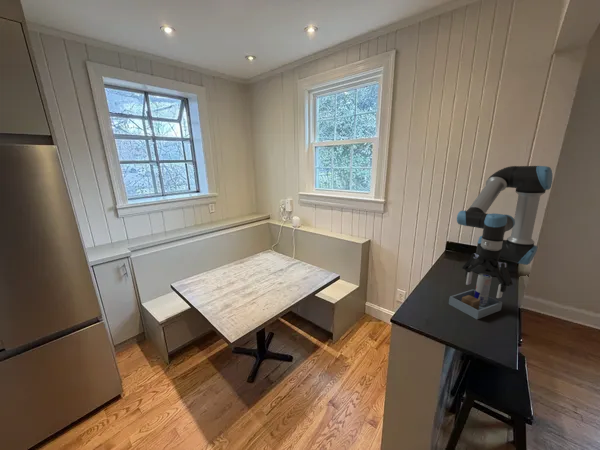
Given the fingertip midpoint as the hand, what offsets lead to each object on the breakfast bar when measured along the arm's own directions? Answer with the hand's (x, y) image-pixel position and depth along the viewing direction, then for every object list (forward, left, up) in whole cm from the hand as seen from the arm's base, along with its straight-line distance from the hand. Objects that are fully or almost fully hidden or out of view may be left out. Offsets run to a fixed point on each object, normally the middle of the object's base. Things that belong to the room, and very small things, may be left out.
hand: (482, 290), depth 115 cm
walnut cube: (+8, 0, -7) cm, 11 cm away
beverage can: (0, 0, -7) cm, 7 cm away
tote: (+4, 0, -8) cm, 9 cm away
